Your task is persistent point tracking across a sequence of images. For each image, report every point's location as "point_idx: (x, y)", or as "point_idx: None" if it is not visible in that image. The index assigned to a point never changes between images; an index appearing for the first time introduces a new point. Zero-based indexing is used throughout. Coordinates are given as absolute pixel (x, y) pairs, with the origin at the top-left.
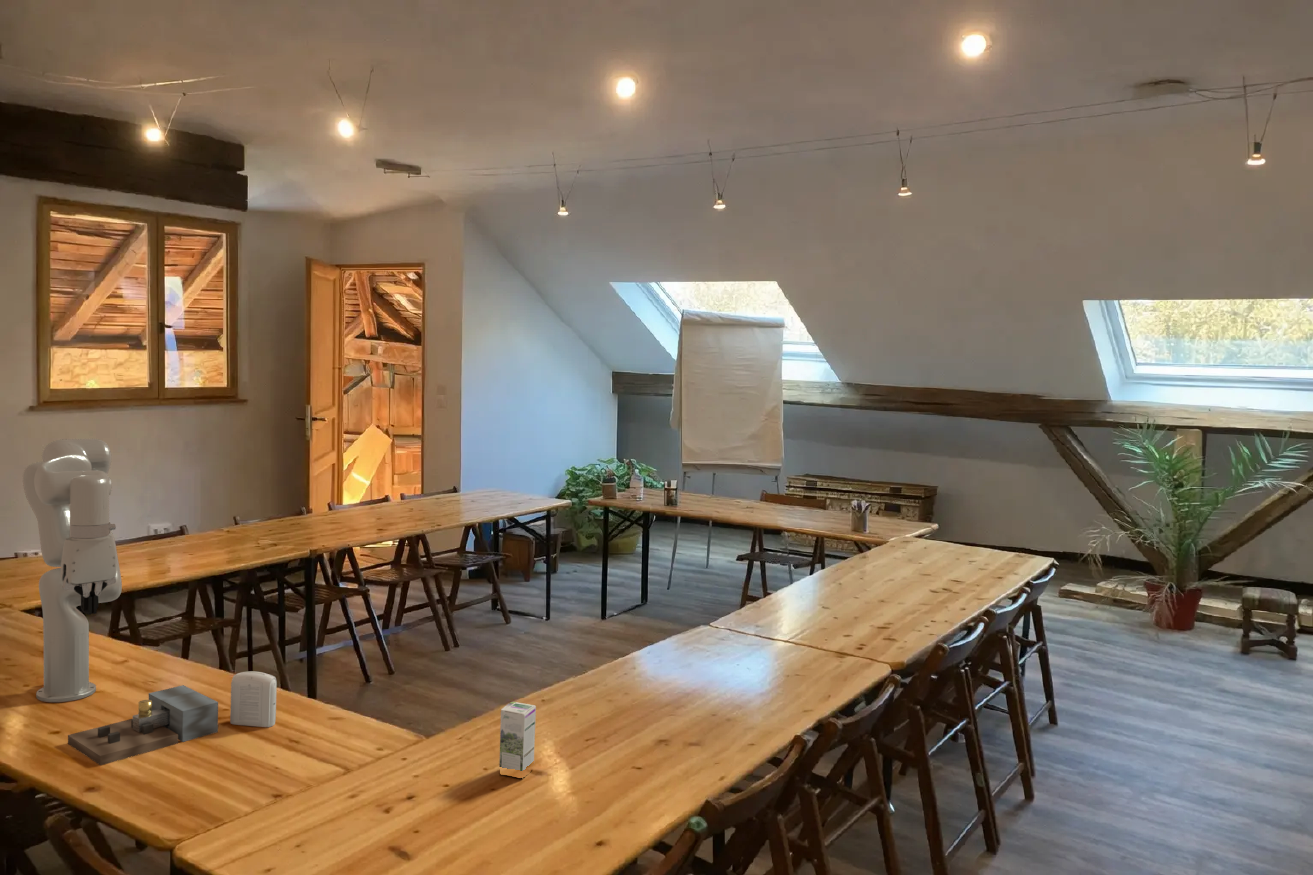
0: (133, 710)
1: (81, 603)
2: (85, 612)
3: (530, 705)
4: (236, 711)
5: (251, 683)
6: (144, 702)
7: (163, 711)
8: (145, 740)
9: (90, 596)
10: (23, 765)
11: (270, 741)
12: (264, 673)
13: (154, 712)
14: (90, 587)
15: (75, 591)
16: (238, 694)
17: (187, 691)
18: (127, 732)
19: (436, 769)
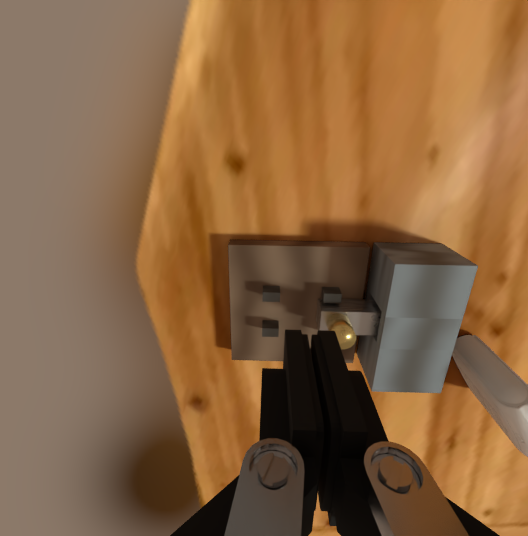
0: (398, 151)
1: (261, 403)
2: (283, 363)
3: None
4: (464, 370)
5: (510, 435)
6: (340, 341)
7: (369, 329)
8: None
9: (326, 475)
10: (149, 277)
11: (432, 425)
12: None
13: (356, 322)
14: (383, 518)
15: (196, 513)
16: (485, 397)
17: (451, 308)
18: (304, 303)
19: None
